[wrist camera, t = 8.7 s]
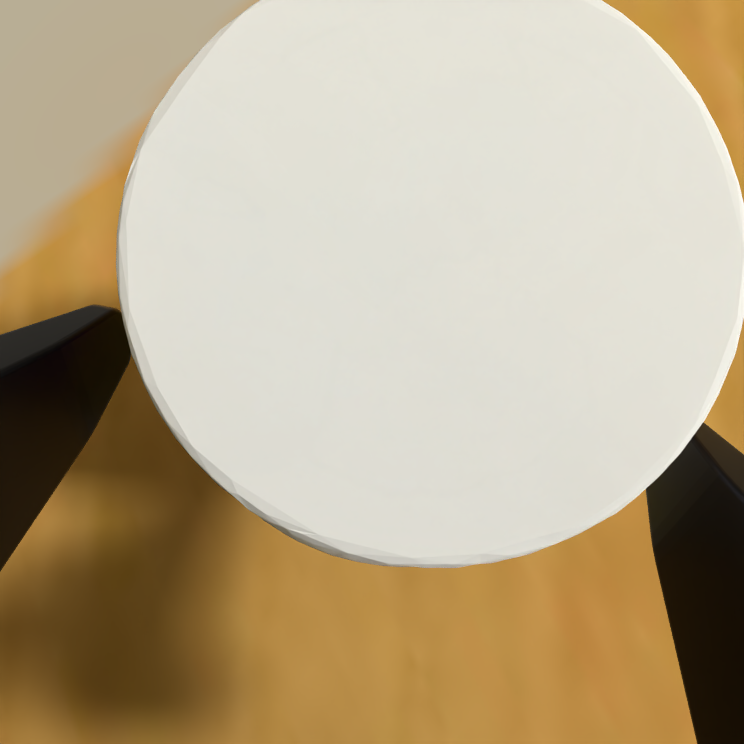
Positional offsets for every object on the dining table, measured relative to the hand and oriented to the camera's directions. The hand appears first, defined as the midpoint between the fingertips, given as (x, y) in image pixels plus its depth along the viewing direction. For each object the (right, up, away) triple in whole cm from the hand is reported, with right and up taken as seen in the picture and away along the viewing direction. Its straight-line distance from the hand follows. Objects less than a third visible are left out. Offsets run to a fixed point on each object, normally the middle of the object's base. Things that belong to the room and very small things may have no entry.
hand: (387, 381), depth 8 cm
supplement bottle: (0, 0, +8) cm, 8 cm away
